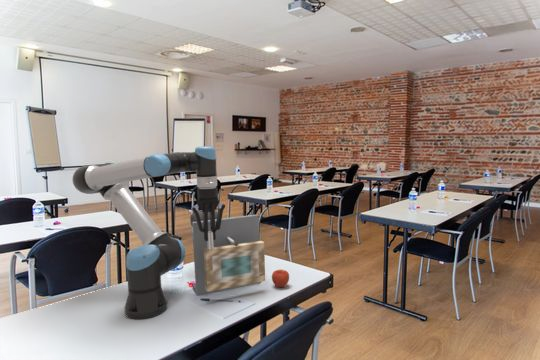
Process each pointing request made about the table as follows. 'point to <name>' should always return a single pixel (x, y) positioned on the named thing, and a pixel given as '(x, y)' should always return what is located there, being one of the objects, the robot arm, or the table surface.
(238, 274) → the frame
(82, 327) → the table surface
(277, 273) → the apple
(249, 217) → the panel
